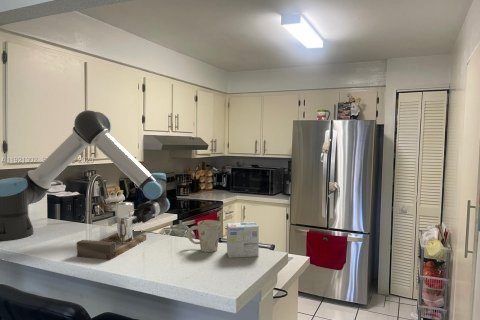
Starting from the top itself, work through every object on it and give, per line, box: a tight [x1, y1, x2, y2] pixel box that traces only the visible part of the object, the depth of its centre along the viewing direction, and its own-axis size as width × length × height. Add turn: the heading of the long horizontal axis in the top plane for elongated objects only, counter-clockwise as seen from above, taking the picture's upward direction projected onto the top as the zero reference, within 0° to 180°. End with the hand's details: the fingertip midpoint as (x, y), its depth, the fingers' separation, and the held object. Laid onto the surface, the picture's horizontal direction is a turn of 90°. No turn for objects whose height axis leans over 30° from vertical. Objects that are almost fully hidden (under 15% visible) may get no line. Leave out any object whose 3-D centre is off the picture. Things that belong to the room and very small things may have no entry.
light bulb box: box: [226, 221, 260, 259], centre depth 125 cm, size 11×7×11 cm, turn 100°
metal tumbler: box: [115, 201, 135, 245], centre depth 139 cm, size 7×7×15 cm
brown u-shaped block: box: [76, 232, 147, 261], centre depth 132 cm, size 24×13×5 cm, turn 166°
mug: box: [187, 219, 221, 253], centre depth 130 cm, size 8×13×10 cm, turn 78°
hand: (117, 222), depth 134 cm, fingers closed on metal tumbler, 7 cm apart
